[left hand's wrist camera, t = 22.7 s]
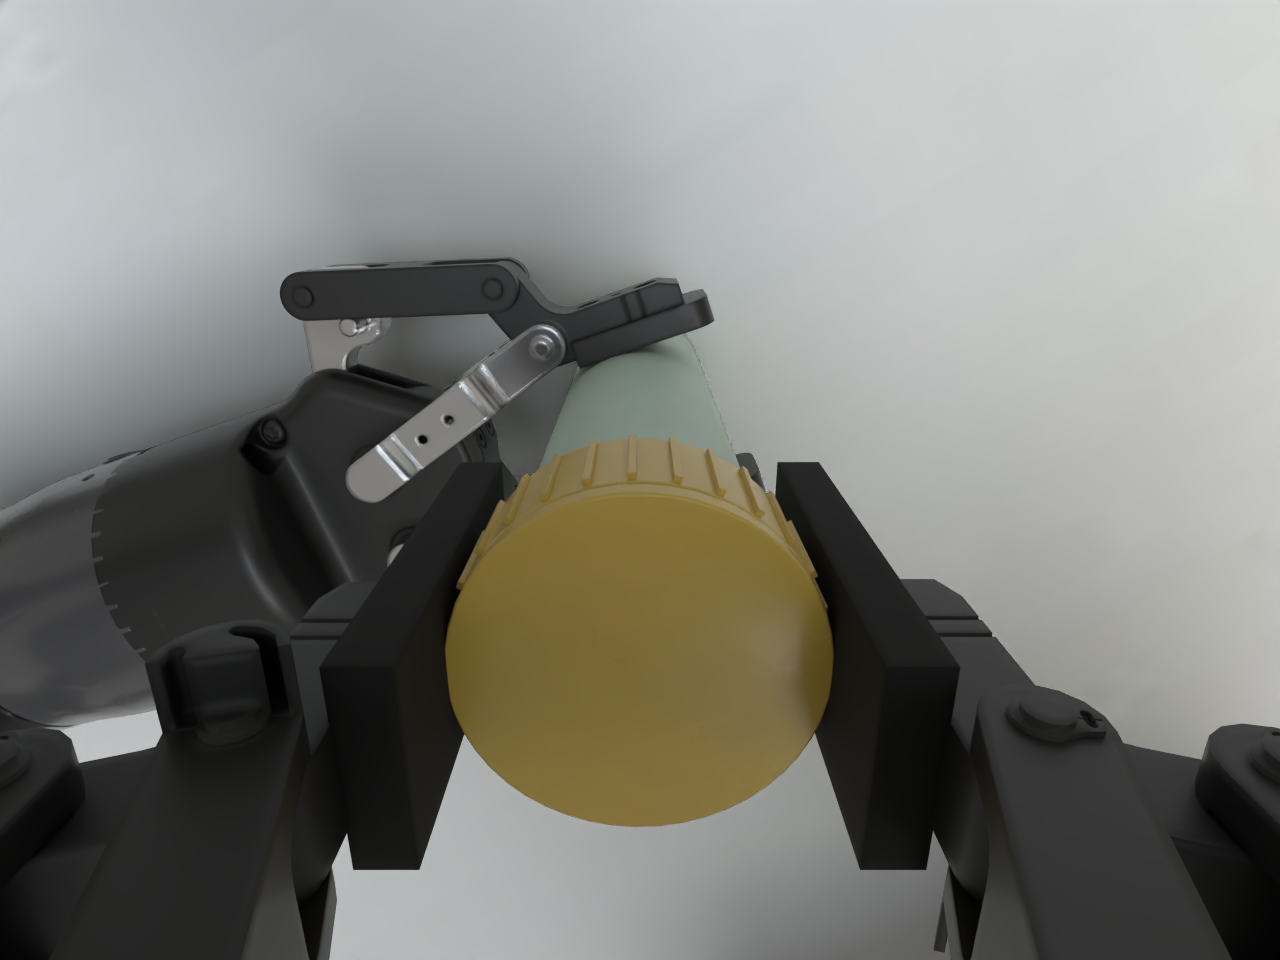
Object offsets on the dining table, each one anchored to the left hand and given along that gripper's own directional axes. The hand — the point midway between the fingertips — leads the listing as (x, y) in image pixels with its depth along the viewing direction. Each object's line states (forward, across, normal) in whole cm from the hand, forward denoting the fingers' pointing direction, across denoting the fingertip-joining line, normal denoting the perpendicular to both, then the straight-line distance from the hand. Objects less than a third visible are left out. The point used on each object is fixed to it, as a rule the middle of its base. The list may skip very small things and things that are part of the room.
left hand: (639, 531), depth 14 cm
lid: (-4, 0, 0) cm, 4 cm away
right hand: (+8, -2, -1) cm, 8 cm away
